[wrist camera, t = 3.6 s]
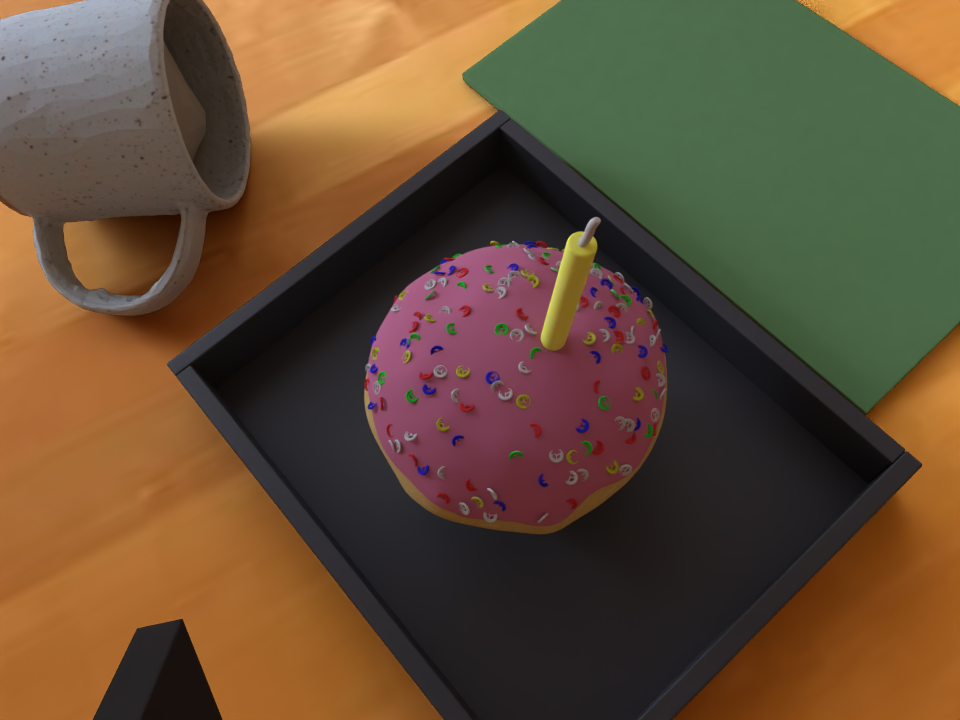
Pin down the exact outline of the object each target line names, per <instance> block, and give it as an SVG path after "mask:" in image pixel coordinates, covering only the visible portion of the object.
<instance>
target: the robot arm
mask: <svg viewBox="0 0 960 720" xmlns="http://www.w3.org/2000/svg"><path fill="white" fill-rule="evenodd" d="M93 720H222V717H221V715H220V712H219V710H218V707H217V705H216V702H215V700H214V697H213V695H212V692H211V690H210V687H209V685H208V682H207V680H206V677H205V675H204V672H203V669H202V667H201V664H200V662H199V659H198V657H197V654H196V652H195V649H194V647H193V644H192V642H191V639H190V637H189V634H188V632H187V629H186V627H185V624H184V622H183V619H180V620H175V621H170V622H165V623H161V624H156V625H151V626H147V627H142V628H137V630H136V632H135V634H134V636H133V638H132V640H131V642H130V644H129V646H128V648H127V650H126V652H125V654H124V656H123V659H122V661H121V663H120V665H119V667H118V669H117V671H116V673H115V675H114V677H113V679H112V681H111V683H110V685H109V687H108V689H107V691H106V693H105V695H104V698H103V700H102V702H101V704H100V706H99V708H98V710H97V712H96V714H95V716H94V718H93Z"/></svg>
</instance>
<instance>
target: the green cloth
mask: <svg viewBox="0 0 960 720" xmlns="http://www.w3.org/2000/svg"><path fill="white" fill-rule="evenodd" d="M462 76H463V80H464V81H465V82H466V83H467V84H468V85H469V86H471V87H472V88H473V89H474V90H475V91H477V92H478V93H479V94H480V95H481V96H482V97H484V98H485V99H486V100H487V101H488V102H490V103H491V104H492V105H493V106H494V107H496V108H497V109H498V110H502V111H503V112H505V113H506V114H507V115H508V116H509V117H510V118H511V119H513V120H514V121H515V122H517V123H518V124H519V125H520V126H521V127H523V128H524V129H525V130H526V131H527V132H529V133H530V134H531V135H532V136H533V137H534V138H536V139H537V140H538V141H539V142H540V143H542V144H543V145H544V146H545V147H546V148H548V149H549V150H550V151H551V152H552V153H553V154H555V155H556V156H557V157H558V158H559V159H561V160H562V161H563V162H564V163H565V164H567V165H568V166H569V167H570V168H571V169H572V170H574V171H575V172H576V173H577V174H578V175H580V176H581V177H582V178H583V179H584V180H586V181H587V182H588V183H589V184H590V185H592V186H593V187H594V188H595V189H596V190H597V191H599V192H600V193H601V194H602V195H603V196H605V197H606V198H607V199H608V200H609V201H611V202H612V203H613V204H614V205H615V206H616V207H618V208H619V209H620V210H621V211H622V212H624V213H625V214H626V215H627V216H628V217H630V218H631V219H632V220H633V221H634V222H636V223H637V224H638V225H639V226H640V227H641V228H643V229H644V230H645V231H646V232H647V233H649V234H650V235H651V236H652V237H653V238H655V239H656V240H657V241H658V242H659V243H660V244H662V245H663V246H664V247H665V248H666V249H668V250H669V251H670V252H671V253H672V254H674V255H675V256H676V257H677V258H678V259H680V260H681V261H682V262H683V263H684V264H685V265H687V266H688V267H689V268H690V269H691V270H693V271H694V272H695V273H696V274H697V275H699V276H700V277H701V278H702V279H703V280H704V281H706V282H707V283H708V284H709V285H710V286H712V287H713V288H714V289H715V290H716V291H718V292H719V293H720V294H721V295H722V296H723V297H725V298H726V299H727V300H728V301H729V302H731V303H732V304H733V305H734V306H735V307H737V308H738V309H739V310H740V311H741V312H743V313H744V314H745V315H746V316H747V317H748V318H750V319H751V320H752V321H753V322H754V323H756V324H757V325H758V326H759V327H760V328H762V329H763V330H764V331H765V332H766V333H767V334H769V335H770V336H771V337H772V338H773V339H775V340H776V341H777V342H778V343H779V344H781V345H782V346H783V347H784V348H785V349H787V350H788V351H789V352H790V353H791V354H792V355H794V356H795V357H796V358H797V359H798V360H800V361H801V362H802V363H803V364H804V365H806V366H807V367H808V368H809V369H810V370H811V371H813V372H814V373H815V374H816V375H817V376H819V377H820V378H821V379H822V380H823V381H825V382H826V383H827V384H828V385H829V386H831V387H832V388H833V389H834V390H835V391H836V392H838V393H839V394H840V395H841V396H842V397H844V398H845V399H846V400H847V401H848V402H850V403H851V404H852V405H853V406H854V407H855V408H857V409H858V410H859V411H860V412H861V413H863V414H864V415H866V414H867V413H868V412H869V411H870V410H871V409H872V408H873V407H874V406H875V405H876V404H877V403H878V402H879V401H880V400H881V399H882V398H883V397H884V396H885V395H886V394H887V393H888V392H889V391H890V390H891V389H893V388H894V387H895V386H896V385H897V384H898V383H899V382H900V381H901V380H902V379H903V378H904V377H905V376H906V375H907V374H908V373H909V372H910V371H911V370H912V369H913V368H914V367H915V366H916V365H917V364H918V363H919V362H920V361H921V360H922V359H923V358H924V357H925V356H926V355H927V354H928V353H929V352H930V351H932V350H933V349H934V348H935V347H936V346H937V345H938V344H939V343H940V342H941V341H942V340H943V339H944V338H945V337H946V336H947V335H948V334H949V333H950V332H951V331H952V330H953V329H954V328H955V327H956V326H957V325H958V324H959V323H960V106H958V105H957V104H955V103H954V102H952V101H950V100H949V99H947V98H946V97H944V96H943V95H941V94H940V93H938V92H937V91H935V90H934V89H932V88H930V87H929V86H927V85H926V84H924V83H923V82H921V81H920V80H918V79H917V78H915V77H913V76H912V75H910V74H909V73H907V72H906V71H904V70H903V69H901V68H900V67H898V66H896V65H895V64H893V63H892V62H890V61H889V60H887V59H886V58H884V57H883V56H881V55H879V54H878V53H876V52H875V51H873V50H872V49H870V48H869V47H867V46H866V45H864V44H863V43H861V42H859V41H858V40H856V39H855V38H853V37H852V36H850V35H849V34H847V33H846V32H844V31H842V30H841V29H839V28H838V27H836V26H835V25H833V24H832V23H830V22H829V21H827V20H825V19H824V18H822V17H821V16H819V15H818V14H816V13H815V12H813V11H812V10H810V9H809V8H807V7H805V6H804V5H802V4H801V3H799V2H798V1H796V0H561V1H560V2H558V3H557V4H556V5H554V6H553V7H552V8H550V9H549V10H548V11H546V12H545V13H544V14H542V15H541V16H539V17H538V18H537V19H535V20H534V21H533V22H531V23H530V24H529V25H527V26H526V27H525V28H523V29H522V30H521V31H519V32H518V33H517V34H515V35H514V36H512V37H511V38H510V39H508V40H507V41H506V42H504V43H503V44H502V45H500V46H499V47H498V48H496V49H495V50H494V51H492V52H491V53H490V54H488V55H487V56H485V57H484V58H483V59H481V60H480V61H479V62H477V63H476V64H475V65H473V66H472V67H471V68H469V69H468V70H467V71H465V72H464V73H463V74H462Z"/></svg>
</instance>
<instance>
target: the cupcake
mask: <svg viewBox="0 0 960 720" xmlns="http://www.w3.org/2000/svg"><path fill="white" fill-rule="evenodd" d="M600 222H601V220H600V218H598V217H594V218H592V219H591V220H590V221H589V222H588V224H587V226H586V228H585V232H576V233H573V234H572V235H571V236H570V237H569V238H568V240H567V243H566V247H565V249H563V250H562V251H561V252H560V251H559V249H556V248H548V247H547V244H546V243H545V242H543V241H538V242H537V243H535V242H532V241H526V242H525V243H524V245H522V244H518V243H516V242H514V241H512V243H510V244H507V245H504V244H500V243H498V242H496V241H491V242H490V244H491V246H490V247H484V248H479V249H476V250H473V251H470V252H467V253H465V254H463V255H462V254H456V255H454V256H453V257H452V258H444V260H442V261H441V262H440V265H439V266H437V267H436V268H434V269H432V270H431V271H429V272H427V273H426V274H424V275H423V276H421V277H419V278H418V279H416V280H415V281H414V282H412V283H411V284H410V285H408V286H407V287H406V288H405V289H404V290H403V291H402V293H400V295H399V296H398V298H397V296H395V299H394V303H393V306H392V307H391V309H390V311H389V313H388V314H387V316H386V318H385V319H384V321H383V323H382V325H381V326H380V328H379V330H378V332H377V334H376V337H375V336H373V337H372V338H371V346H372V348H371V352H370V356H369V362H368V364H367V365H366V367H365V369H366V373H367V375H366V380H365V383H364V386H365V390H364V402H365V410H366V415H367V419H368V422H369V425H370V428H371V431H372V433H373V435H374V437H375V439H376V441H377V443H378V445H379V447H380V449H381V450H382V452H383V454H384V456H385V458H386V459H387V461H388V463H389V464H390V466H391V468H392V469H393V471H394V473H395V474H396V476H397V478H398V480H399V482H400V483H401V485H402V487H403V488H404V490H405V491H406V493H407V494H408V495H409V496H410V497H411V498H412V499H414V500H415V501H416V502H417V503H418V504H419V505H421V506H422V507H423V508H425V509H426V510H428V511H429V512H431V513H433V514H435V515H437V516H439V517H441V518H444V519H447V520H450V521H453V522H457V523H461V524H466V525H470V526H476V527H481V528H487V529H493V530H500V531H509V532H519V533H530V534H549V533H553V532H556V531H558V530H560V529H562V528H564V527H566V526H567V525H569V524H570V523H572V522H573V521H575V520H577V519H578V518H580V517H581V516H583V515H585V514H586V513H588V512H590V511H591V510H593V509H594V508H596V507H597V506H599V505H600V504H602V503H603V502H604V501H606V500H607V499H608V498H609V497H611V496H612V495H613V494H614V493H616V492H617V491H618V490H619V489H620V488H621V487H623V486H624V485H625V484H626V483H627V482H628V481H629V480H630V479H631V478H632V477H633V476H634V474H635V473H636V472H637V471H638V470H639V468H640V467H641V466H642V464H643V463H644V461H645V460H646V458H647V457H648V455H649V453H650V452H651V450H652V448H653V446H654V444H655V442H656V439H657V437H658V434H659V432H660V429H661V426H662V422H663V419H664V414H665V408H666V399H667V369H666V356H665V353H668V352H669V349H668V347H667V346H666V345H665V344H663V341H662V337H661V333H660V332H661V329H659V327H658V324H657V320H656V319H655V317H654V315H653V313H652V311H651V310H650V309H651V308H652V301H651V300H650V298H648V297H646V298H644V300H643V299H642V297H641V296H640V291H639V289H638V288H636V287H630V286H629V285H628V284H627V283H626V282H625V281H624V277H623V275H622V274H621V273H619V272H616V273H615V274H614V273H613V272H611V271H609V270H607V269H605V268H603V267H601V266H600V265H599V264H597V263H593V260H594V257H595V254H596V251H597V241H596V239H595V238H594V237H593V235H594V233H595V229H596V228H597V226H598V225H599V224H600ZM494 243H495V244H494ZM529 243H531V244H529ZM527 244H528V245H527ZM540 244H543V245H540ZM495 245H496V246H495ZM539 246H541V247H539ZM543 246H544V247H545V248H543ZM457 256H458V257H457ZM455 257H456V258H455ZM445 261H447V262H445ZM617 275H619V276H620V277H619V276H617ZM635 290H636V292H637V293H636V292H635ZM648 301H649V303H648ZM646 302H647V304H646ZM647 305H649V307H648V306H647ZM373 340H374V341H373ZM664 347H665V349H666V350H665V349H664Z"/></svg>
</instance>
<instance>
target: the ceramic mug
mask: <svg viewBox="0 0 960 720" xmlns="http://www.w3.org/2000/svg"><path fill="white" fill-rule="evenodd" d="M250 144H251V139H250V126H249V120H248V115H247V107H246V100H245V96H244V92H243V88H242V83H241V78H240V74H239V72H238V70H237V67H236V65H235V62H234V58H233V54H232V52H231V50H230V48H229V46H228V44H227V41H226V38H225V36H224V35H223V33H222V30H221V28H220V26H219V24H218V22H217V21H216V19H215V18H214V16H213V14H212V13H211V11H210V9H209V8H208V7H207V6H206V4H205V3H204V2H203V0H86V1H82V2H77V3H72V4H68V5H63V6H58V7H53V8H48V9H42V10H36V11H31V12H26V13H22V14H17V15H13V16H10V17H7V18H4V19H2V20H0V201H1V202H2V203H3V204H5V205H6V206H7V207H9V208H11V209H12V210H14V211H16V212H18V213H19V214H22V215H25V216H29V217H32V218H33V221H34V226H33V234H34V245H35V248H36V251H37V257H38V261H39V263H40V265H41V267H42V269H43V271H44V273H45V276H46V278H47V279H48V281H49V282H50V284H51V285H52V286H53V287H54V288H55V289H56V290H57V291H58V292H59V293H61V294H62V295H63V296H64V297H65V298H66V299H68V300H69V301H71V302H73V303H74V304H76V305H77V306H79V307H81V308H83V309H85V310H89V311H93V312H99V313H106V314H112V315H123V316H135V315H142V314H147V313H151V312H155V311H157V310H159V309H161V308H163V307H165V306H167V305H169V304H171V303H172V302H173V301H174V300H175V299H176V298H177V297H178V296H179V295H180V294H181V293H182V292H183V291H184V290H185V289H186V288H187V287H188V285H189V284H190V282H191V281H192V279H193V277H194V276H195V274H196V272H197V269H198V266H199V263H200V259H201V254H202V250H203V244H204V238H205V230H206V218H207V215H208V212H211V211H218V210H225V209H228V208H230V207H232V206H234V205H236V204H237V202H238V201H239V200H240V198H241V197H242V195H243V193H244V191H245V188H246V184H247V180H248V174H249V169H250V153H251V150H250ZM177 214H181V226H180V230H179V233H178V241H177V244H176V248H175V251H174V254H173V258H172V261H171V264H170V265H169V267H168V268H167V270H166V271H165V273H164V274H163V275H162V277H161V278H160V279H159V281H157V282H156V283H155V284H154V285H153V286H152V288H151V289H150V291H149V292H148V293H146V294H144V295H143V296H132V295H118V294H112V293H109V292H108V291H106V290H105V289H103V288H99V289H92V290H88V289H86V288H85V287H84V286H83V285H82V283H81V282H80V281H79V280H78V279H77V278H76V276H75V274H74V272H73V270H72V265H71V263H70V262H69V260H68V257H67V251H66V247H65V243H64V233H63V225H64V224H65V222H78V221H93V220H100V219H106V218H112V217H123V216H124V217H129V216H155V215H177Z"/></svg>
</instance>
